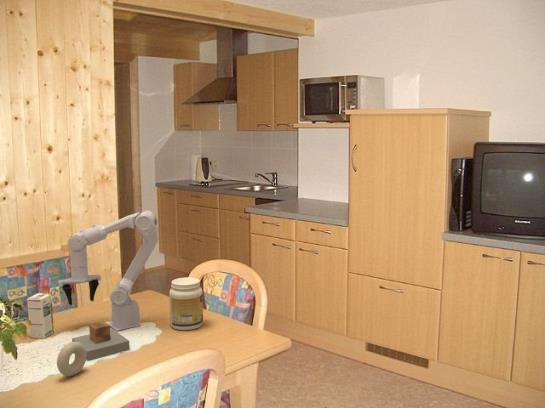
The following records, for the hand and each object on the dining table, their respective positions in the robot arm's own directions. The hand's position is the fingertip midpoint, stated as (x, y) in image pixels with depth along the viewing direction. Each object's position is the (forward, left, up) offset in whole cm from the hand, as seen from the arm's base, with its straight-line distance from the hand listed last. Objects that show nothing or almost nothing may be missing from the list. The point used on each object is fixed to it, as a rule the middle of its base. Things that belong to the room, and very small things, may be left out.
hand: (81, 302), depth 201 cm
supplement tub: (-31, +22, -10) cm, 39 cm away
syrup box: (+14, -1, -10) cm, 17 cm away
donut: (+16, +37, -10) cm, 41 cm away
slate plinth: (+2, +23, -9) cm, 25 cm away
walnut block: (+2, +23, -6) cm, 24 cm away
